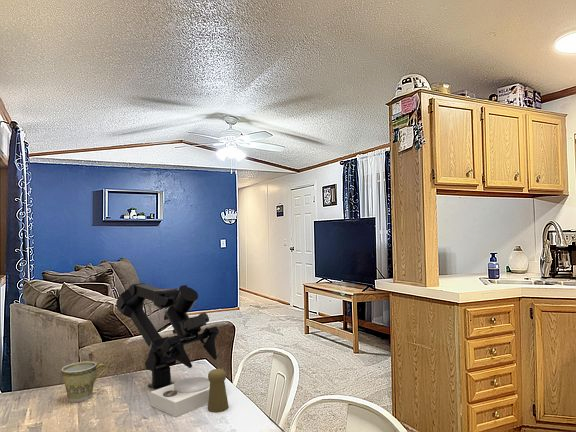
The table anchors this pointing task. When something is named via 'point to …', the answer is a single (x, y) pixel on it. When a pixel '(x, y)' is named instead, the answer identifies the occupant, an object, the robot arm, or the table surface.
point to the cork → (217, 391)
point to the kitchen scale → (181, 396)
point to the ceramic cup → (80, 380)
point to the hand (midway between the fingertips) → (203, 363)
